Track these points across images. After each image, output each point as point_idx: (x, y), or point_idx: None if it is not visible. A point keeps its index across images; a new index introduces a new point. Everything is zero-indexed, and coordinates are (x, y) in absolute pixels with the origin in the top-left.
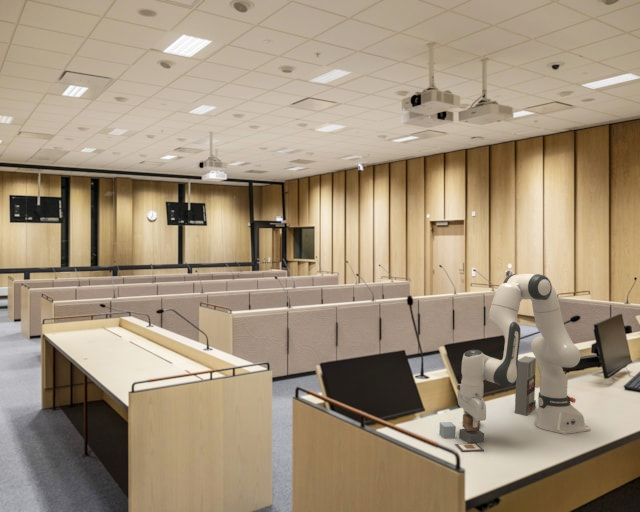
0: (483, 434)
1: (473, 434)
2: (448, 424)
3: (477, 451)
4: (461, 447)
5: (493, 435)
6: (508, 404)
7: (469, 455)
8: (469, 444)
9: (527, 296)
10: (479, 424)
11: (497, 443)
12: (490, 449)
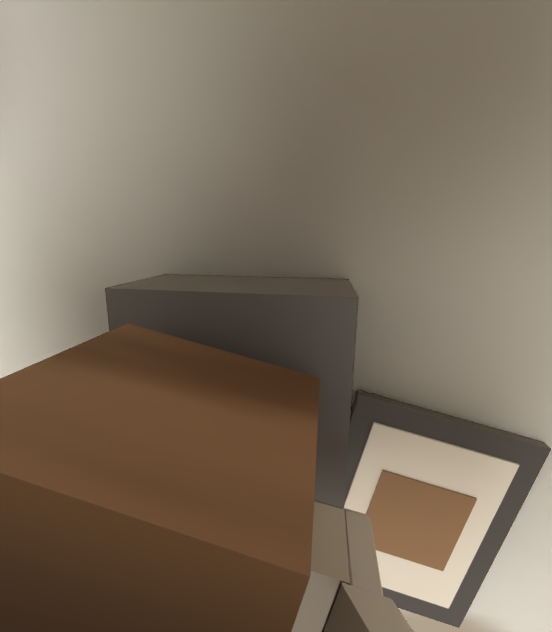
0: (355, 311)
1: (337, 470)
2: None
3: (514, 501)
4: (395, 586)
5: (205, 9)
6: None
7: (546, 612)
8: (366, 484)
9: None
10: (316, 436)
11: (437, 143)
12: (538, 348)
